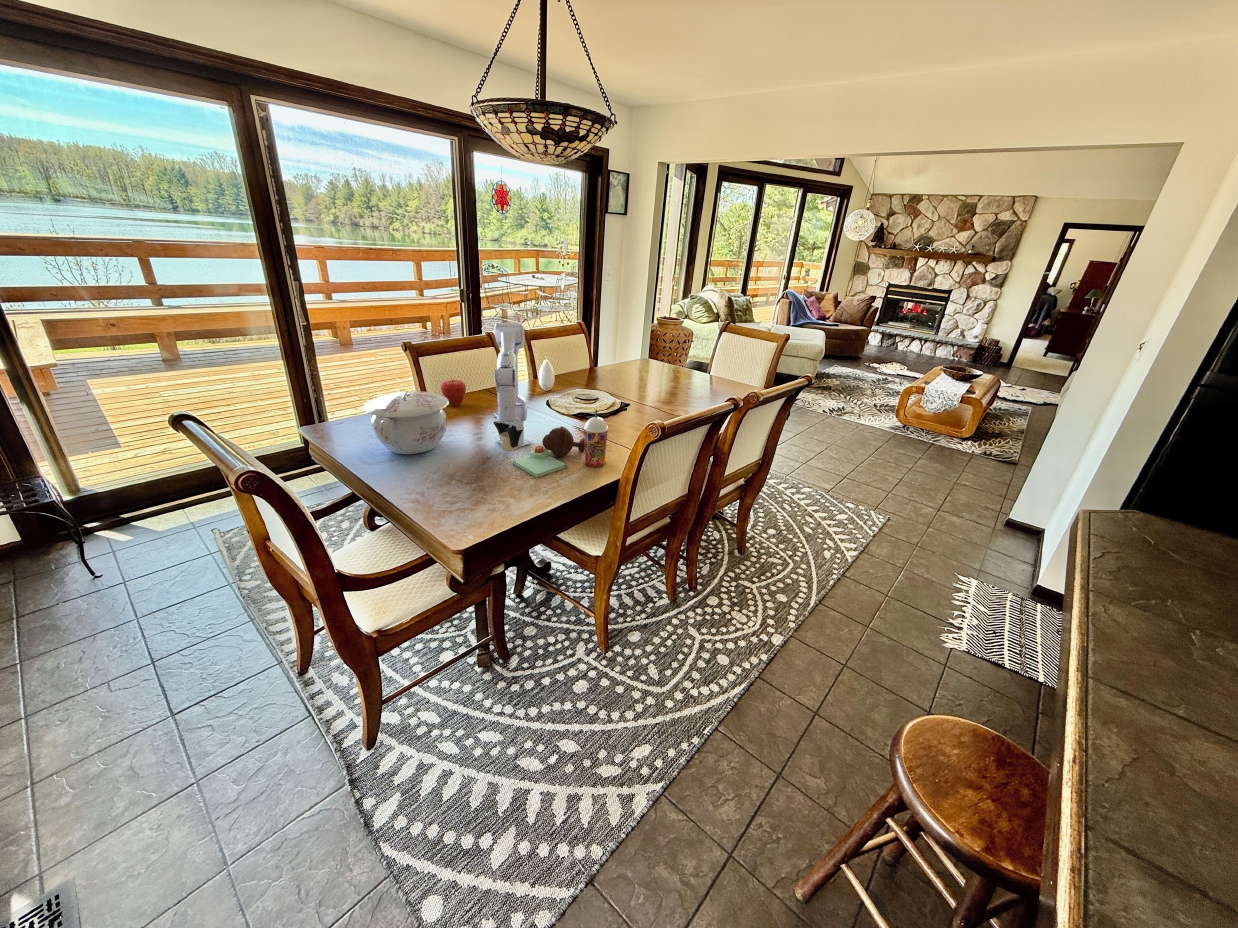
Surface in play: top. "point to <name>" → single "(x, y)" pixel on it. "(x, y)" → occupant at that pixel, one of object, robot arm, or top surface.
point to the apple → (453, 391)
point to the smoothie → (595, 441)
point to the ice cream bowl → (561, 442)
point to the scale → (538, 463)
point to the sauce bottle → (546, 376)
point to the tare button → (539, 449)
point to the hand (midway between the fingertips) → (509, 444)
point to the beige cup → (506, 442)
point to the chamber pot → (408, 420)
